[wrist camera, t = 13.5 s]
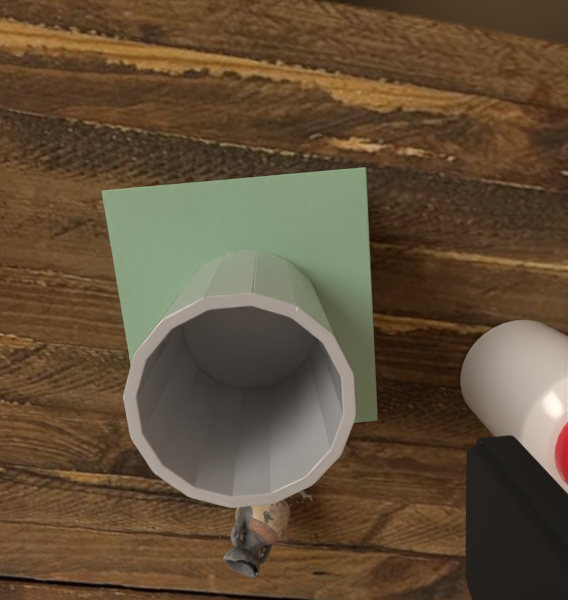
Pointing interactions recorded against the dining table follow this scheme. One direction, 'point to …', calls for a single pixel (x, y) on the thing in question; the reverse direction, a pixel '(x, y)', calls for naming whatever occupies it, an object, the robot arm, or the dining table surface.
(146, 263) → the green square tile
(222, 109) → the dining table surface
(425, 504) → the dining table surface
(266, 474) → the cup
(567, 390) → the pill bottle
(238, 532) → the vase
